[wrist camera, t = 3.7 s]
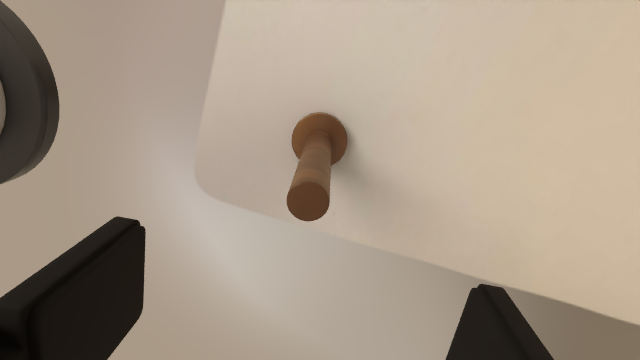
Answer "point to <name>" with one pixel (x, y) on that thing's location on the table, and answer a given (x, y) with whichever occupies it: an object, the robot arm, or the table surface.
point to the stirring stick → (315, 164)
